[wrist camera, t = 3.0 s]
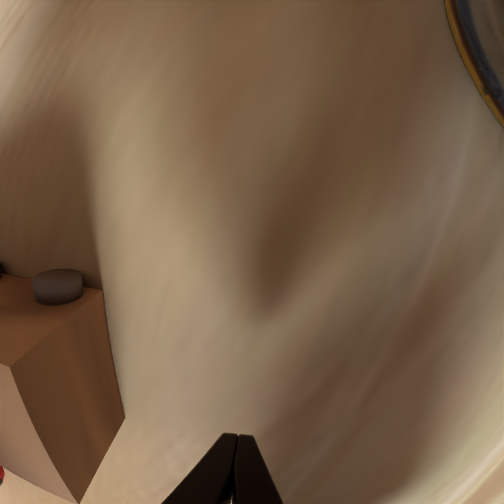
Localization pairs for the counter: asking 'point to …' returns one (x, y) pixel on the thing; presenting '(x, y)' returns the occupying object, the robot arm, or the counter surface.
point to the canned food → (1, 475)
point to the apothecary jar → (481, 46)
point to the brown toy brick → (55, 381)
